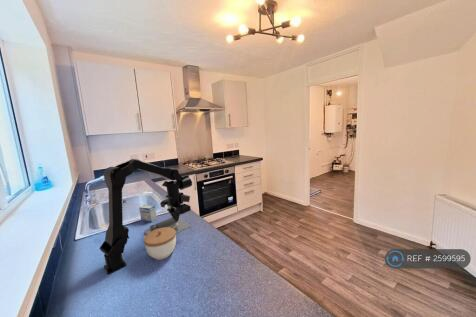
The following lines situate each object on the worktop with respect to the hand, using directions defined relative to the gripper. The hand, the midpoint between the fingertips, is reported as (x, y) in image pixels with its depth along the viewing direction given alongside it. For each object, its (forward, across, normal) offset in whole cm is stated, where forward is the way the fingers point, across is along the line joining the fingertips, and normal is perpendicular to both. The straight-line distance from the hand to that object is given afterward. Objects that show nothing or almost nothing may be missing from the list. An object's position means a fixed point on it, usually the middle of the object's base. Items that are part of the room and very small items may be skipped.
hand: (177, 221), depth 100 cm
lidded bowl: (+6, -11, +15) cm, 19 cm away
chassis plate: (+5, +6, +2) cm, 9 cm away
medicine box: (+6, +26, +3) cm, 27 cm away
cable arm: (+3, +6, +4) cm, 8 cm away
